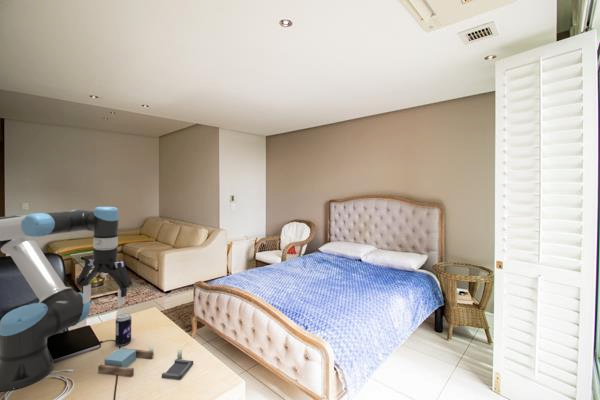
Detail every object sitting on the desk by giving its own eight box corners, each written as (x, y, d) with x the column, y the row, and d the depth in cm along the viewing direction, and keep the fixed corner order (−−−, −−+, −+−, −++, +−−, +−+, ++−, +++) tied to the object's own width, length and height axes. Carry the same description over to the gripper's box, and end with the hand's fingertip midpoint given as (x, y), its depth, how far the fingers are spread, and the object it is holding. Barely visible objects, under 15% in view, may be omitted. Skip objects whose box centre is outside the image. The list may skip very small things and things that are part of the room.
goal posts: (148, 356, 110) (148, 348, 110) (150, 353, 111) (150, 346, 111) (180, 359, 108) (180, 352, 108) (182, 357, 110) (182, 349, 110)
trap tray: (161, 377, 98) (161, 374, 98) (175, 362, 106) (176, 359, 106) (180, 379, 97) (180, 376, 97) (193, 364, 106) (193, 360, 106)
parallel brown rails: (98, 373, 99) (98, 366, 99) (122, 354, 110) (122, 348, 110) (131, 377, 98) (131, 370, 97) (152, 357, 109) (152, 351, 109)
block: (104, 369, 101) (104, 359, 101) (119, 358, 108) (119, 348, 108) (121, 372, 100) (121, 361, 100) (135, 360, 107) (135, 350, 107)
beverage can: (123, 347, 115) (123, 319, 115) (112, 345, 116) (112, 317, 116) (134, 340, 120) (134, 313, 120) (123, 338, 122) (123, 312, 121)
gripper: (65, 247, 101) (63, 304, 102) (130, 252, 99) (128, 310, 100) (82, 243, 108) (80, 297, 109) (143, 248, 107) (141, 302, 108)
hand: (103, 303), depth 105 cm, fingers open, 13 cm apart
